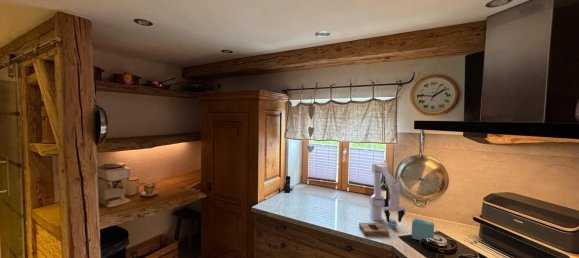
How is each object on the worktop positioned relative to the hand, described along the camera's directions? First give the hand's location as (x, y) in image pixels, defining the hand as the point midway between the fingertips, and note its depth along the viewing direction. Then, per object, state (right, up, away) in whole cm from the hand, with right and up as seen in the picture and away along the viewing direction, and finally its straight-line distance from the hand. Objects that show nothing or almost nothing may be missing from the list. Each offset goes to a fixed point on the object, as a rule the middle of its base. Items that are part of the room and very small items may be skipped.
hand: (393, 221), depth 152 cm
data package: (+17, -11, -3) cm, 20 cm away
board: (-11, -9, +6) cm, 16 cm away
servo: (+5, -9, +13) cm, 17 cm away
